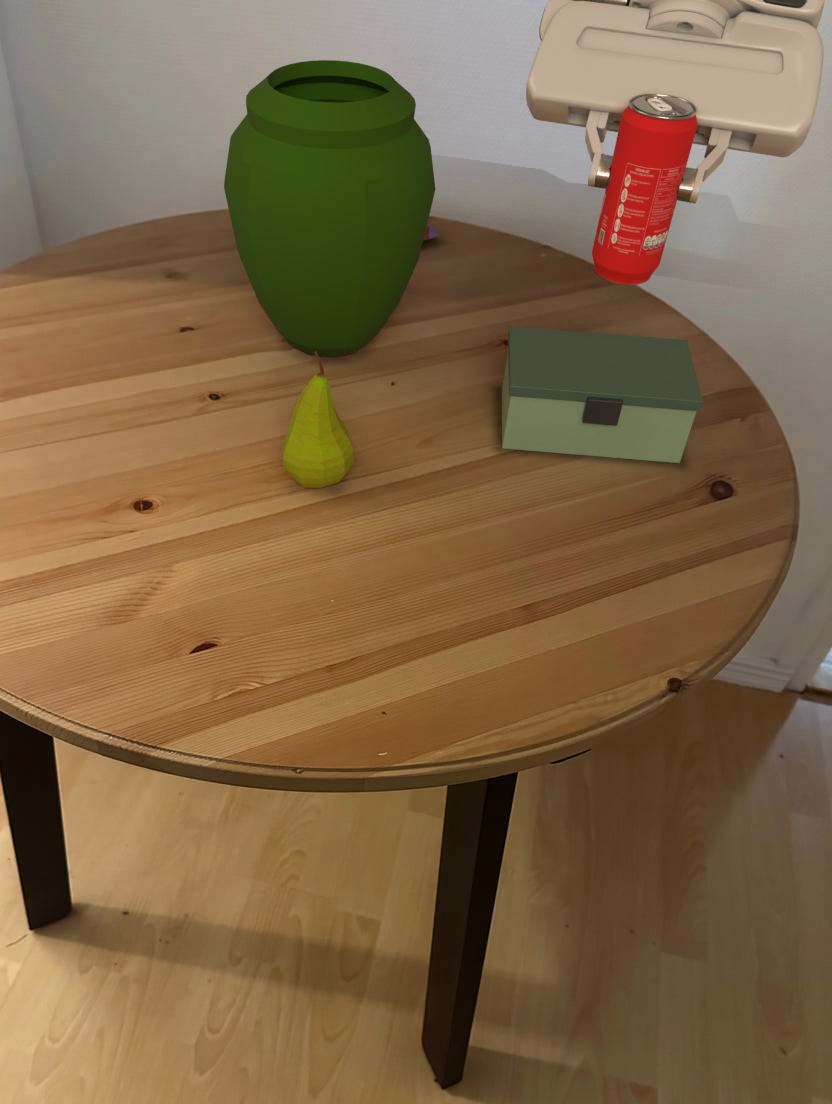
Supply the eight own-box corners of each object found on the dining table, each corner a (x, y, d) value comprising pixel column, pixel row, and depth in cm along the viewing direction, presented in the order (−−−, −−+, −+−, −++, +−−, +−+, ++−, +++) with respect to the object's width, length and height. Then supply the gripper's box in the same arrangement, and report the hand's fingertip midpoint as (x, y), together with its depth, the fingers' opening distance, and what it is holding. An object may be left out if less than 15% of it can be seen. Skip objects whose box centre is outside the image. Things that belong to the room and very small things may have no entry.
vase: (437, 308, 107) (462, 59, 90) (399, 403, 94) (419, 133, 77) (266, 282, 110) (258, 36, 93) (206, 371, 97) (183, 104, 80)
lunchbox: (667, 398, 96) (686, 336, 91) (683, 468, 88) (704, 404, 84) (499, 385, 97) (509, 323, 92) (499, 453, 89) (510, 389, 84)
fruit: (319, 512, 83) (320, 387, 74) (266, 481, 85) (261, 357, 77) (368, 478, 86) (375, 355, 77) (316, 450, 89) (316, 327, 80)
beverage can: (606, 290, 75) (647, 121, 66) (577, 259, 78) (612, 94, 69) (668, 284, 76) (715, 116, 67) (637, 253, 79) (678, 90, 70)
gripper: (550, -45, 70) (500, 148, 71) (851, -10, 66) (795, 195, 67) (550, 11, 76) (504, 188, 77) (826, 46, 72) (775, 233, 73)
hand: (642, 191), depth 72 cm, fingers closed on beverage can, 5 cm apart
